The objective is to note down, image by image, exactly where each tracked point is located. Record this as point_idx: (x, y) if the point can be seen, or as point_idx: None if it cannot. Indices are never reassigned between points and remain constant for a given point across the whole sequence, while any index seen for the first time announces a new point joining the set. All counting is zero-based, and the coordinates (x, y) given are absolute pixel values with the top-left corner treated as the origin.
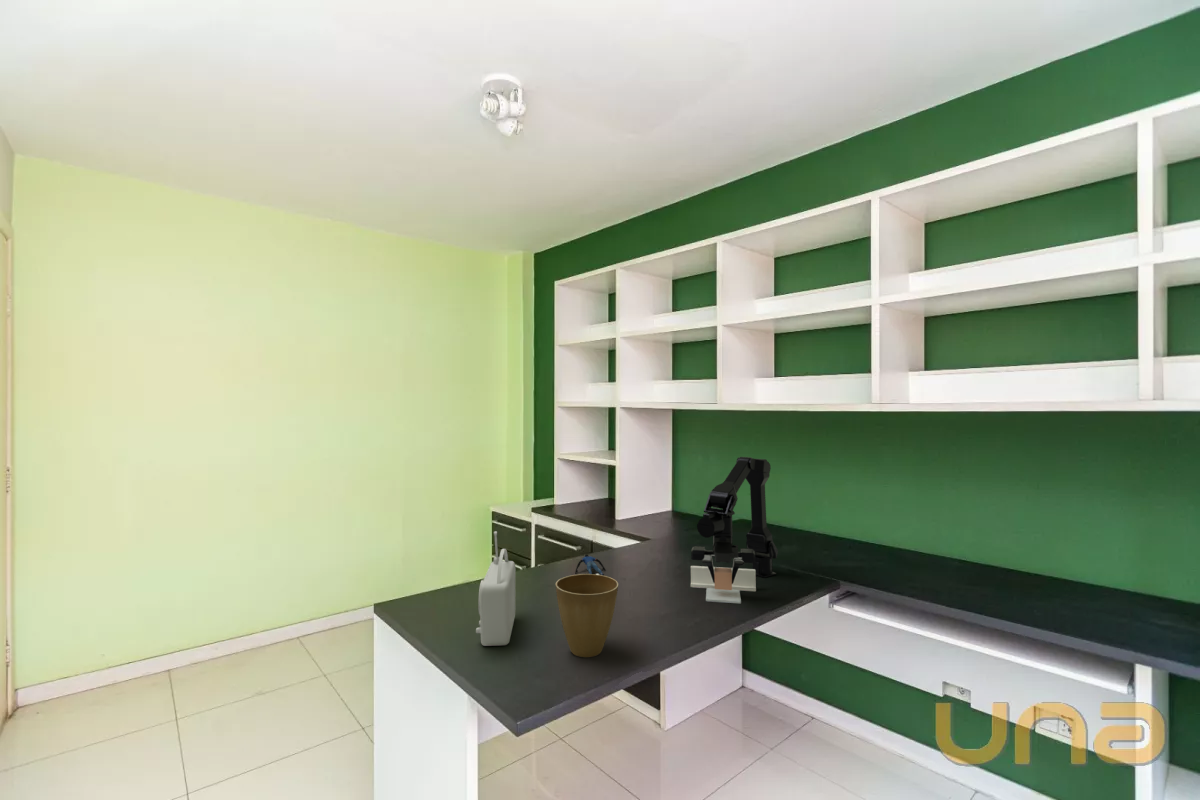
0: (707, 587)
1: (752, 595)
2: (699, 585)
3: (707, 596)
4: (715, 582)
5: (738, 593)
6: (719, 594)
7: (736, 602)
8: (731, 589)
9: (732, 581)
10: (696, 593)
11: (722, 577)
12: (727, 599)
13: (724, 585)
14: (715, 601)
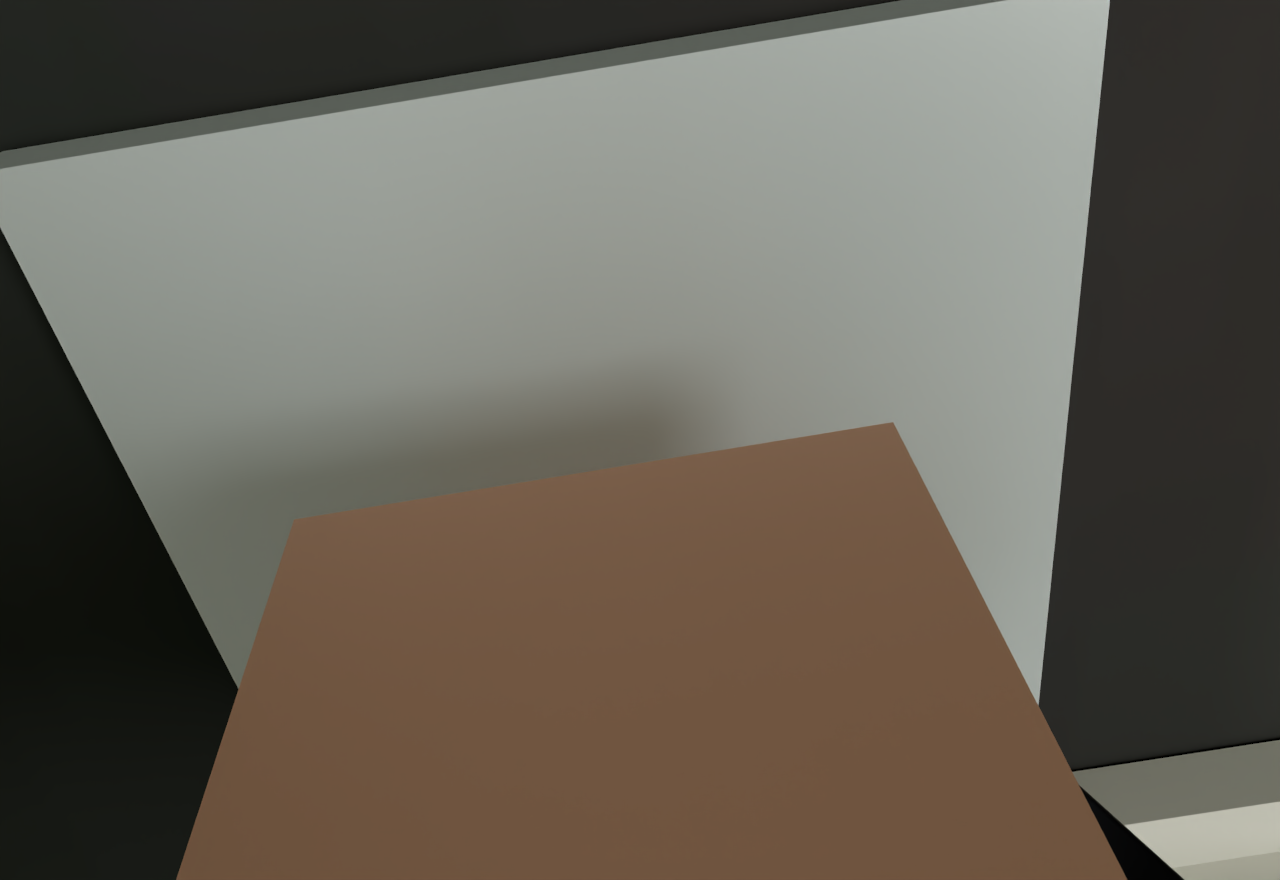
0: None
1: (8, 755)
2: (1184, 799)
3: (1044, 245)
4: (939, 586)
5: None
6: None
7: (125, 136)
8: (301, 528)
9: None
10: (1276, 466)
11: (652, 849)
12: (427, 207)
13: (549, 580)
14: (782, 25)
